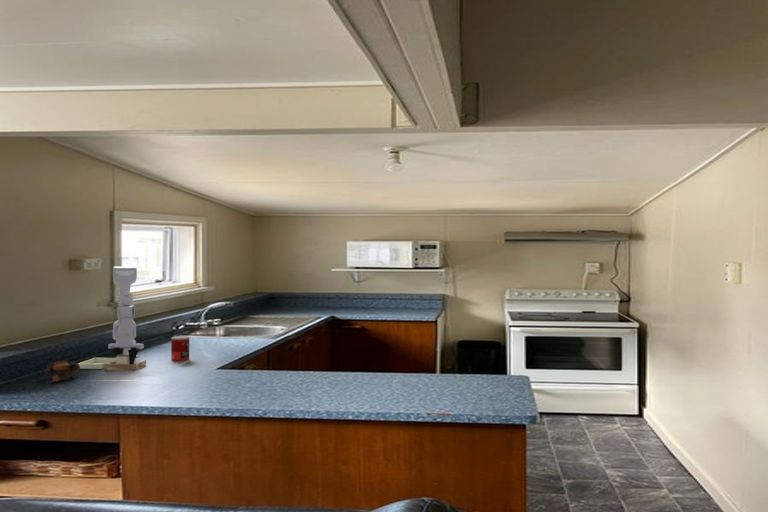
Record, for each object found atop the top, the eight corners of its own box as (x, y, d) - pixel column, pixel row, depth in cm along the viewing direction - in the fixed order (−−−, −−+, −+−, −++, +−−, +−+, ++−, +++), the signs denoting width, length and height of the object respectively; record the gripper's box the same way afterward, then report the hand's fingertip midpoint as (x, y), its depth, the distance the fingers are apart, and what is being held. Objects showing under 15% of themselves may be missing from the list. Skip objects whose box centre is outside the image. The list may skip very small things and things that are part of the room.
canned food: (183, 362, 234) (183, 338, 234) (167, 362, 235) (167, 338, 235) (192, 359, 242) (192, 336, 242) (177, 358, 243) (177, 335, 243)
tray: (94, 363, 232) (94, 357, 232) (118, 363, 232) (118, 358, 232) (76, 369, 219) (76, 363, 219) (102, 370, 219) (102, 364, 219)
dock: (116, 366, 226) (116, 359, 226) (146, 366, 225) (146, 360, 225) (104, 371, 216) (104, 364, 216) (134, 371, 216) (134, 364, 216)
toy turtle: (44, 384, 196) (40, 364, 199) (52, 389, 205) (48, 370, 207) (79, 373, 201) (75, 354, 204) (85, 379, 209) (81, 360, 212)
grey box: (125, 365, 225) (125, 352, 225) (136, 365, 225) (136, 352, 225) (116, 369, 217) (116, 355, 217) (126, 369, 217) (126, 355, 217)
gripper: (104, 335, 217) (104, 367, 217) (137, 335, 217) (137, 367, 217) (113, 332, 224) (113, 363, 224) (146, 332, 224) (146, 363, 224)
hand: (125, 365), depth 221 cm, fingers closed on grey box, 4 cm apart
